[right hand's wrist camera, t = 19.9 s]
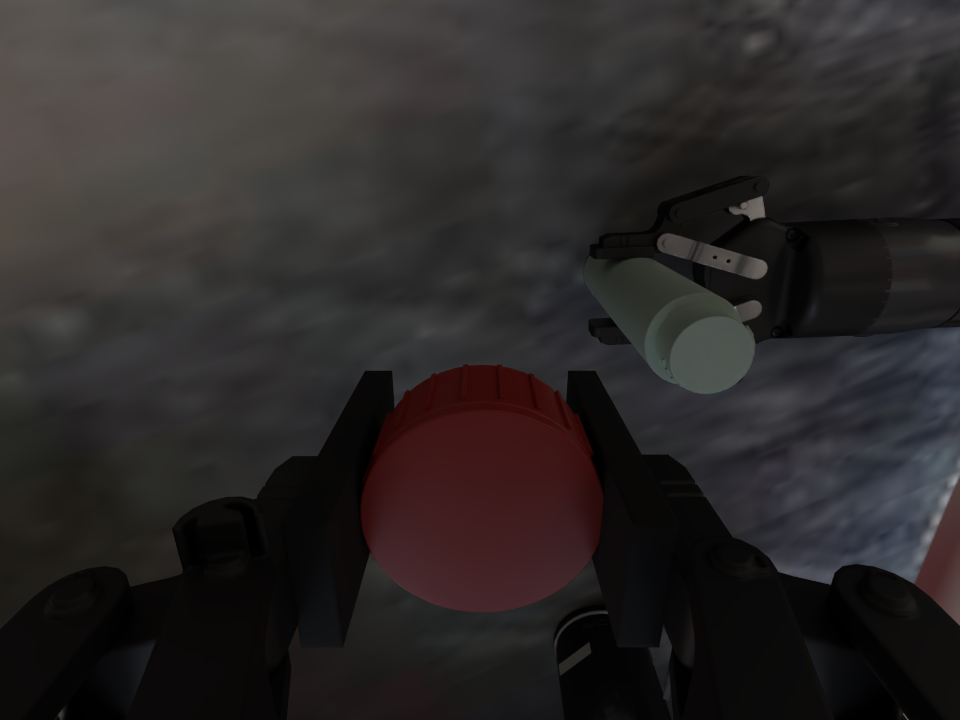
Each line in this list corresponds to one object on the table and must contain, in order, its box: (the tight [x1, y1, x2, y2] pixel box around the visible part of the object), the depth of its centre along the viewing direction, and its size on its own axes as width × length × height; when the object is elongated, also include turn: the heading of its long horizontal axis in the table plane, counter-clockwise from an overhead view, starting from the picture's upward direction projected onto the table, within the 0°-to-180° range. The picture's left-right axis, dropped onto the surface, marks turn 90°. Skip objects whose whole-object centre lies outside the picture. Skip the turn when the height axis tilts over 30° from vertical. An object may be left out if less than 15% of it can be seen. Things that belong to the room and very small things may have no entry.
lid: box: [360, 364, 604, 612], centre depth 11 cm, size 5×5×2 cm
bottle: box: [583, 256, 756, 394], centre depth 31 cm, size 4×4×19 cm
